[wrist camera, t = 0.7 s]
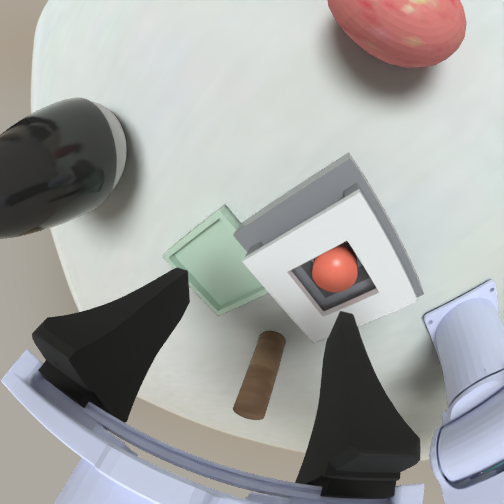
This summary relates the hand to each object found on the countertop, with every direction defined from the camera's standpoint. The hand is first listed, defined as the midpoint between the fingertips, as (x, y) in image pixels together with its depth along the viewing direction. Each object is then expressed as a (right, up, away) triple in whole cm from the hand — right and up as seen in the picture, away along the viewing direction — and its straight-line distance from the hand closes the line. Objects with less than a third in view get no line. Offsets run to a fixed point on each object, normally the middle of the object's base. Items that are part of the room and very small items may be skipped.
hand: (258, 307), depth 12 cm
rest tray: (-3, +1, +12) cm, 13 cm away
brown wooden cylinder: (+2, -7, +16) cm, 17 cm away
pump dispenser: (-14, +13, +9) cm, 21 cm away
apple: (+8, +17, -1) cm, 19 cm away
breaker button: (+6, +2, +7) cm, 10 cm away
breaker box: (+6, +2, +8) cm, 11 cm away
